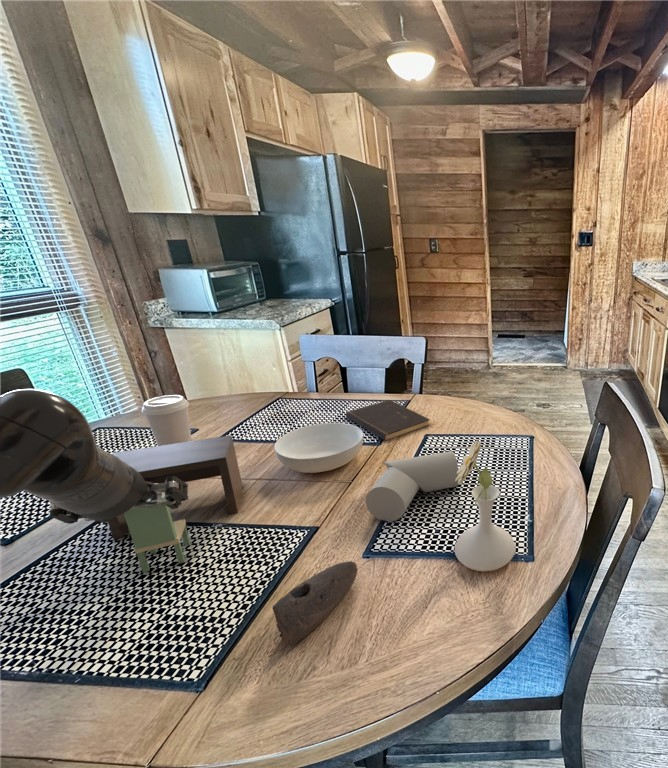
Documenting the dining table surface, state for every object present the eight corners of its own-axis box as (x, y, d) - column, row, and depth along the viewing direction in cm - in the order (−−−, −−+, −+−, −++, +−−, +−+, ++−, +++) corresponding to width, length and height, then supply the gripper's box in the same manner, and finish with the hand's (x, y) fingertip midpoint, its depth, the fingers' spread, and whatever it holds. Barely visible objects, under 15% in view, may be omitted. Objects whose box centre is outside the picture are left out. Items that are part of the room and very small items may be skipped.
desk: (238, 513, 88) (225, 457, 83) (114, 541, 79) (92, 479, 74) (242, 487, 97) (231, 434, 92) (132, 509, 88) (114, 452, 84)
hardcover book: (390, 405, 146) (389, 399, 145) (430, 425, 131) (429, 419, 131) (346, 418, 135) (345, 412, 134) (385, 442, 120) (384, 434, 119)
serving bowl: (382, 453, 114) (380, 431, 111) (319, 493, 95) (315, 467, 93) (326, 437, 122) (323, 416, 119) (259, 471, 104) (254, 446, 101)
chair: (184, 565, 74) (165, 497, 69) (141, 576, 71) (118, 507, 67) (191, 542, 79) (174, 479, 74) (151, 552, 76) (131, 487, 72)
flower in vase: (471, 528, 85) (471, 417, 77) (523, 543, 82) (529, 428, 73) (438, 572, 74) (434, 447, 66) (497, 592, 70) (500, 462, 62)
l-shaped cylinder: (395, 465, 106) (357, 513, 87) (401, 429, 102) (363, 471, 83) (461, 485, 105) (437, 538, 86) (470, 449, 101) (447, 496, 83)
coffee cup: (145, 457, 108) (129, 404, 103) (182, 441, 116) (169, 391, 112) (172, 464, 105) (157, 409, 100) (208, 447, 114) (196, 396, 109)
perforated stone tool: (347, 575, 73) (343, 542, 70) (369, 587, 70) (366, 554, 68) (265, 644, 60) (257, 607, 58) (288, 661, 58) (281, 623, 56)
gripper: (14, 528, 50) (82, 545, 63) (163, 498, 56) (197, 520, 69) (21, 468, 52) (86, 497, 66) (163, 446, 59) (196, 477, 72)
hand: (143, 509), depth 67 cm, fingers open, 8 cm apart
